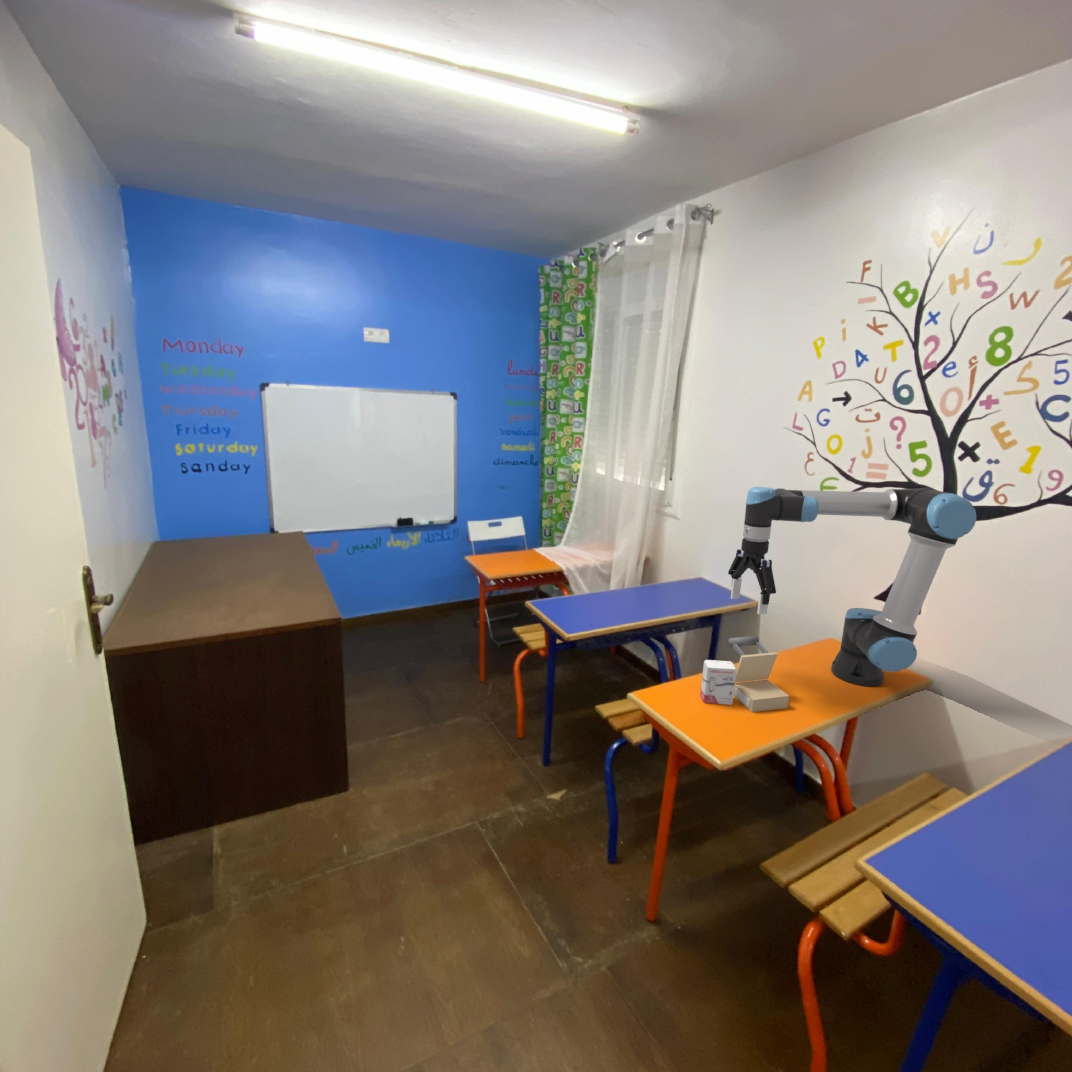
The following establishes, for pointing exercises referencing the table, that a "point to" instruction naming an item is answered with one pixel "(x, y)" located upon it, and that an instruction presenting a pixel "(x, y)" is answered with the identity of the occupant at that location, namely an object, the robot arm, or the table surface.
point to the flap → (752, 660)
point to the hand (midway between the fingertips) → (747, 605)
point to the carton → (760, 695)
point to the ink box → (718, 682)
